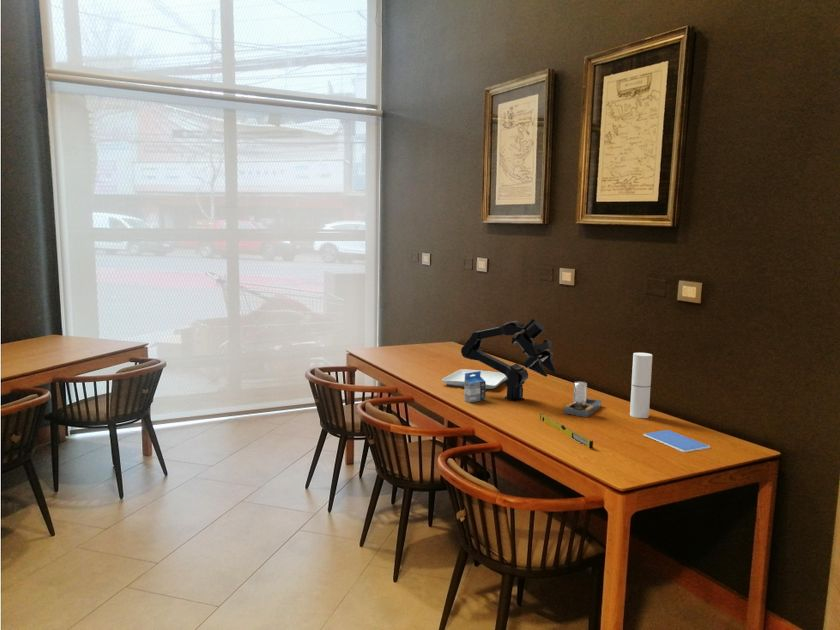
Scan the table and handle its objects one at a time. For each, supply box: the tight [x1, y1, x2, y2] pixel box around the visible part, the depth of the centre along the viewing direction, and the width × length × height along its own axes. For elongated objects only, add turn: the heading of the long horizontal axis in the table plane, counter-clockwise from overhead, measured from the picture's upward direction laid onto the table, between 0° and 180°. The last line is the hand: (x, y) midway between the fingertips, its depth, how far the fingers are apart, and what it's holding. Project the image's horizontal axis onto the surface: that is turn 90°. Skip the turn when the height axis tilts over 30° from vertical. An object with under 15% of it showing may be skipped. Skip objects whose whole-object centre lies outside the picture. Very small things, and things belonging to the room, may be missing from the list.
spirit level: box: [539, 413, 594, 449], centre depth 225 cm, size 34×1×3 cm, turn 18°
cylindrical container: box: [629, 352, 653, 419], centre depth 247 cm, size 7×7×25 cm
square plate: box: [441, 368, 508, 390], centre depth 301 cm, size 27×27×4 cm
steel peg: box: [572, 381, 588, 410], centre depth 251 cm, size 5×5×12 cm
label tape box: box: [464, 370, 486, 404], centre depth 268 cm, size 9×4×12 cm, turn 123°
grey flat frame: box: [563, 397, 602, 418], centre depth 256 cm, size 20×10×3 cm, turn 148°
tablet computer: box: [643, 429, 711, 453], centre depth 218 cm, size 19×13×1 cm, turn 24°
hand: (551, 374), depth 261 cm, fingers open, 9 cm apart
